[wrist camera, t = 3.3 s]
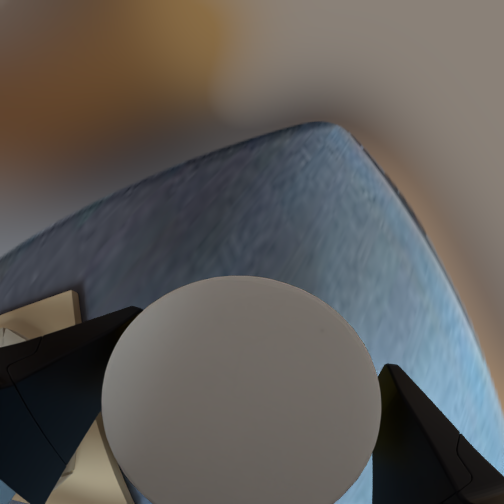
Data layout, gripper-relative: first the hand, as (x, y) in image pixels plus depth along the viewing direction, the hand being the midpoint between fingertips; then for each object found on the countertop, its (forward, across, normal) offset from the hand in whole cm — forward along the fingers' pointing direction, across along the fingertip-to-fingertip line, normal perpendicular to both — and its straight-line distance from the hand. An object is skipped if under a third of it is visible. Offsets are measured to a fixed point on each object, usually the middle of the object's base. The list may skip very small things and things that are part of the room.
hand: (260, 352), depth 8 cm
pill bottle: (+4, 0, +6) cm, 7 cm away
